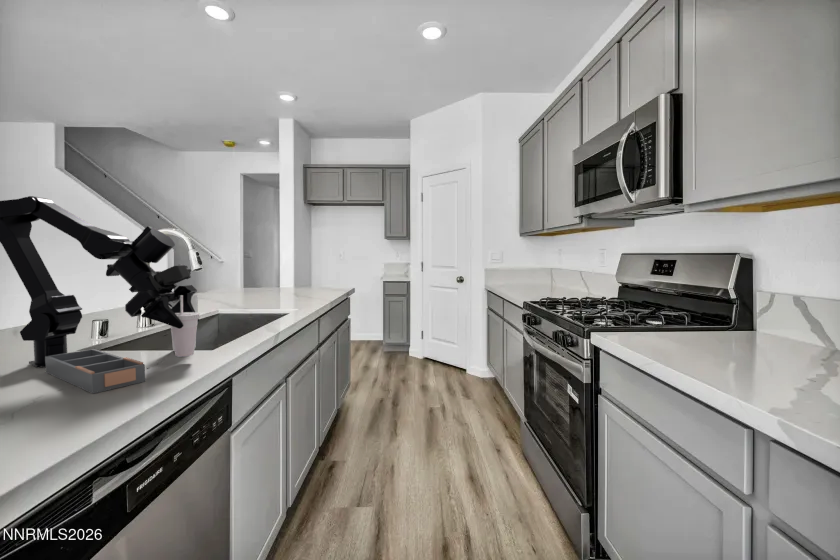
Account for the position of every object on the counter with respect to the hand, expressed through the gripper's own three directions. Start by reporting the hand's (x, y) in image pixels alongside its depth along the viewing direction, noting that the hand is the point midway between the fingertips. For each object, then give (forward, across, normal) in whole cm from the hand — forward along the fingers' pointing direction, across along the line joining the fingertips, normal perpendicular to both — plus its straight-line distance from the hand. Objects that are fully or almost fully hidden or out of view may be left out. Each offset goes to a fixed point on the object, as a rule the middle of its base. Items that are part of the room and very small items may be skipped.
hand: (190, 324), depth 93 cm
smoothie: (+4, 0, +6) cm, 7 cm away
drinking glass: (0, +14, +13) cm, 19 cm away
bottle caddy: (-3, -11, +17) cm, 20 cm away
